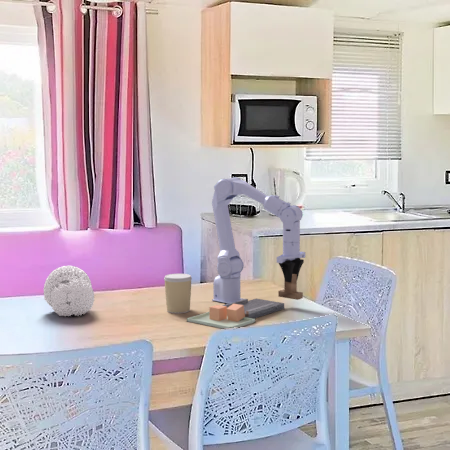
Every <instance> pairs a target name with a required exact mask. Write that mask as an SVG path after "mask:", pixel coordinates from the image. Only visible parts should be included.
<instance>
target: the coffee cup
mask: <svg viewBox="0 0 450 450" xmlns="http://www.w3.org/2000/svg"><path fill="white" fill-rule="evenodd" d="M192 280H193V278H192V275H190V274H189V273H169V274H166V275H164V278H163V281H164V290H165V303H166V312H168V313H169V314H185V313H189V312H190V310H191V295H192Z"/></svg>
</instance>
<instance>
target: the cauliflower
mask: <svg viewBox="0 0 450 450" xmlns="http://www.w3.org/2000/svg"><path fill="white" fill-rule="evenodd" d="M91 282H92V281H91V279H90V277H89V275H88V274H87V273H86V272H85V271H84V270H83V269H81V268H79V267H78V266H73V265H63V266H60V267H56V269H54V270H52V271H51V272H50V273H49V275H47V277H46V279H45V282H44V284H43V285H44V286H43V288H42V289H43V297H44V299H43V300H44V301H45V302H46V303H47V304H48V305H49V306H50V307H51V309H52V310H53V312H54V313H55V314H57V315H58V316H59V317H66V316H68V317H72V316H73V315H74V316H75V317H76V316H77V317H80V316H82V314H83V315H85V314H86V313H88V312H89V311H90V310H91V308H93V305H94V301H95V292H94V289H93V287H92V283H91ZM71 315H72V316H71ZM79 315H80V316H79Z"/></svg>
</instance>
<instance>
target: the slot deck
mask: <svg viewBox="0 0 450 450" xmlns="http://www.w3.org/2000/svg"><path fill="white" fill-rule="evenodd" d="M232 304H239V305H244V312H245V317H247V318H252V319H255V320H256V319H257V318H260V317H263V316H267V315H271V314H274V313H276V312H280V311H282V309H283V310H285V303H284V302H279V301H275V300H269V299H261V298H253V299H249V298H243V300H239V301H236V302H232V303H224V304H221V306H227V308H228V307H229V306H231V305H232Z"/></svg>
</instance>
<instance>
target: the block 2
mask: <svg viewBox="0 0 450 450" xmlns="http://www.w3.org/2000/svg"><path fill="white" fill-rule="evenodd" d="M226 311H227V317H228V320H231V321H236V322H238V321H240V320H241V319H243V318H244V317H245V312H244V305H239V304H232V305H231V306H229V307H228V308H226Z"/></svg>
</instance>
